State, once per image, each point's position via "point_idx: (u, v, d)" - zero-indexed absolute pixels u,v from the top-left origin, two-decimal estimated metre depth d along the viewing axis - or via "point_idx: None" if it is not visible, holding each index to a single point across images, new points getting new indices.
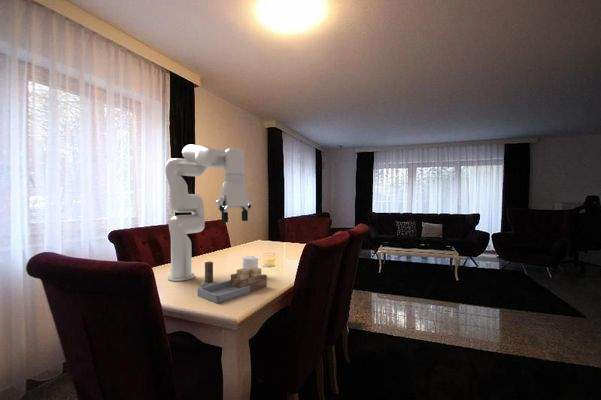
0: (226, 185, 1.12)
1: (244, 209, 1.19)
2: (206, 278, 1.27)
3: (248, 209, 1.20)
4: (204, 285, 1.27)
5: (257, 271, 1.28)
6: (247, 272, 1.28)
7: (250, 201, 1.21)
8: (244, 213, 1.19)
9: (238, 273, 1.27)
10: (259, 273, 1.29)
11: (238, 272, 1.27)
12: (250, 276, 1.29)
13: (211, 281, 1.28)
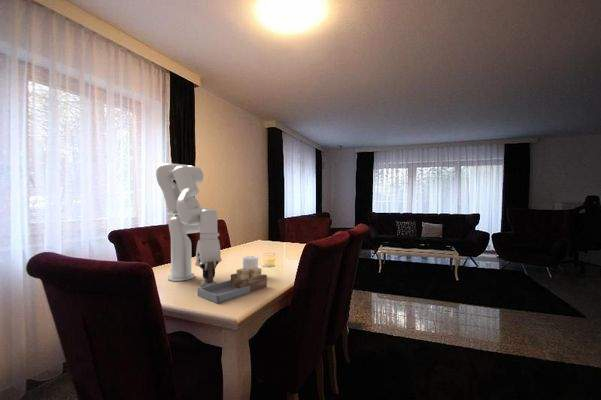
0: (200, 244, 1.24)
1: None
2: None
3: (215, 267, 1.30)
4: (204, 285, 1.27)
5: (257, 271, 1.28)
6: (247, 272, 1.28)
7: (219, 259, 1.32)
8: None
9: (238, 273, 1.27)
10: (259, 273, 1.29)
11: (238, 272, 1.27)
12: (250, 276, 1.29)
13: (211, 281, 1.28)
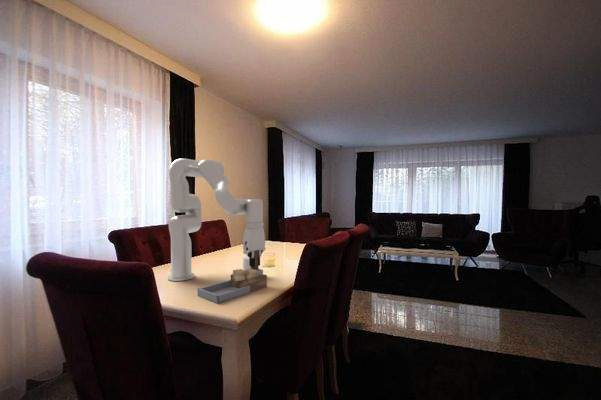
0: (248, 232, 1.28)
1: None
2: None
3: (260, 255, 1.33)
4: None
5: (252, 272, 1.26)
6: (242, 273, 1.26)
7: (264, 248, 1.35)
8: None
9: (234, 274, 1.26)
10: (255, 274, 1.27)
11: (234, 273, 1.26)
12: (245, 277, 1.27)
13: (257, 268, 1.31)
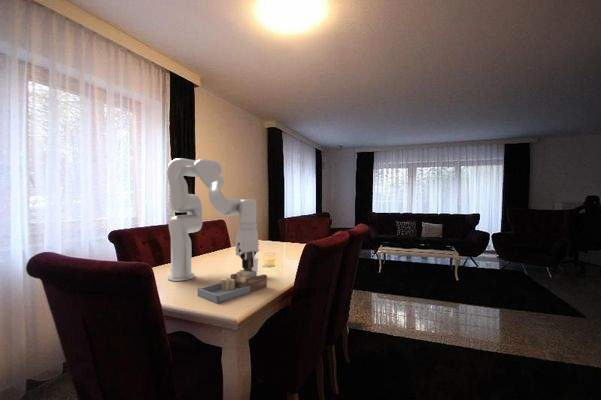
0: (240, 233, 1.25)
1: None
2: None
3: (253, 257, 1.30)
4: None
5: (245, 274, 1.23)
6: (229, 283, 1.23)
7: None
8: None
9: None
10: (248, 276, 1.24)
11: None
12: (238, 279, 1.23)
13: (250, 270, 1.28)
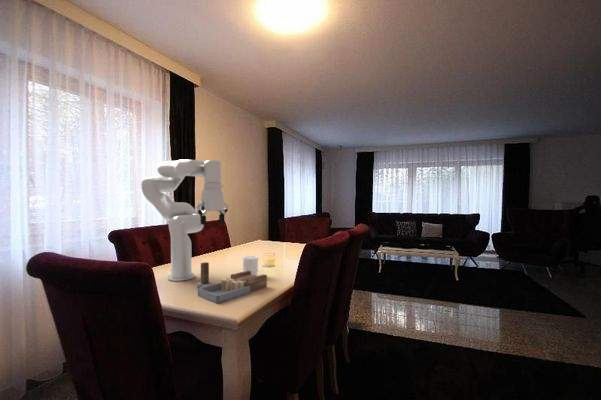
0: (204, 192, 1.29)
1: (221, 213, 1.37)
2: (202, 279, 1.26)
3: (225, 213, 1.37)
4: (200, 286, 1.26)
5: (237, 288, 1.19)
6: (229, 283, 1.23)
7: (227, 206, 1.38)
8: (221, 216, 1.36)
9: None
10: (240, 285, 1.20)
11: None
12: None
13: (207, 282, 1.26)
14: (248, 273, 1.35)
